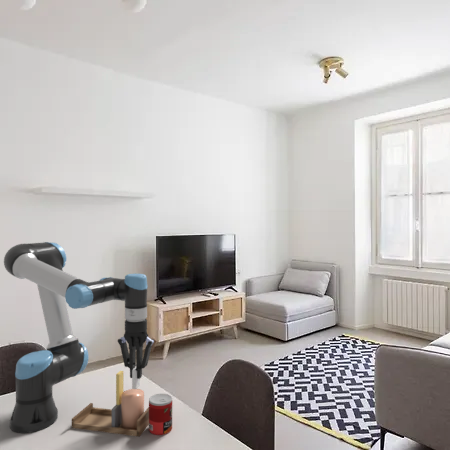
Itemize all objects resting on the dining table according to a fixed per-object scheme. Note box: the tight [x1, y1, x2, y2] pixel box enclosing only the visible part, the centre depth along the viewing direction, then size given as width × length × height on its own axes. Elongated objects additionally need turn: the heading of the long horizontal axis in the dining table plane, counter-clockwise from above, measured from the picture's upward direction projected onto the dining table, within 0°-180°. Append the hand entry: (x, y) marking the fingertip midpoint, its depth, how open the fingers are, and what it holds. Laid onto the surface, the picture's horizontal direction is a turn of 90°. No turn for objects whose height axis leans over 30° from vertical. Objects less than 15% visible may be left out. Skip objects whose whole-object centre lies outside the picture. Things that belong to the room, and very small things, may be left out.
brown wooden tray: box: [71, 402, 149, 438], centre depth 131 cm, size 25×12×6 cm, turn 78°
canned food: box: [148, 393, 173, 436], centre depth 128 cm, size 8×8×11 cm
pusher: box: [111, 370, 124, 428], centre depth 131 cm, size 1×9×18 cm, turn 168°
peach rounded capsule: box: [121, 388, 145, 430], centre depth 130 cm, size 8×8×11 cm
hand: (135, 387), depth 129 cm, fingers closed
